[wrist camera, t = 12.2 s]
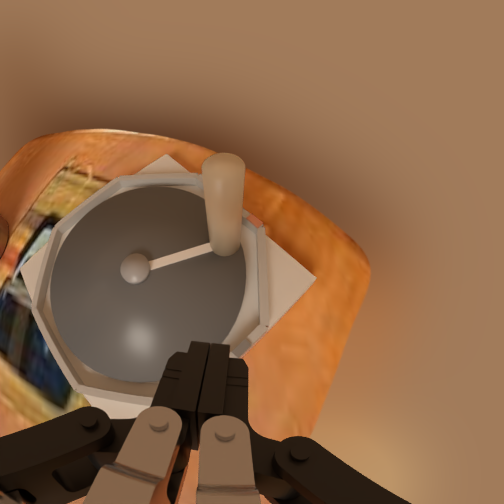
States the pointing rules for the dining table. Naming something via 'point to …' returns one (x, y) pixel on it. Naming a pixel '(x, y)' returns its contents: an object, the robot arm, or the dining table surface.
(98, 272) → the dial
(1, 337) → the dining table surface
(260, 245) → the dial plate
